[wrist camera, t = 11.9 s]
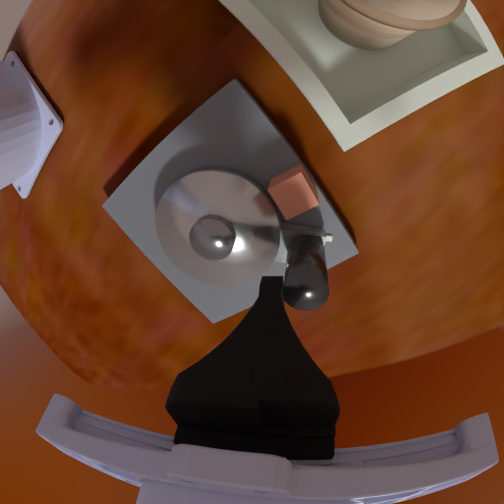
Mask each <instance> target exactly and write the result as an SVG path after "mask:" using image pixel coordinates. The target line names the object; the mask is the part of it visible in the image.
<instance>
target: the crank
mask: <svg viewBox="0 0 504 504" xmlns="http://www.w3.org/2000/svg"><path fill="white" fill-rule="evenodd" d="M155 226H156V233H157V237H158V240H159V243H160V245H161V247H162V249H163V251H164V253H165V254H166V256H167V257H168V258H169V260H170V261H171V262H172V263H173V264H174V265H175V266H176V267H177V268H178V269H179V270H181V271H182V272H183V273H185V274H186V275H188V276H189V277H191V278H193V279H195V280H197V281H200V282H202V283H205V284H209V285H213V286H220V287H231V286H238V285H243V284H246V283H249V282H251V281H253V280H255V279H257V278H258V277H260V276H261V275H262V274H264V273H265V272H266V271H267V270H268V269H269V267H270V266H271V265H272V263H273V262H274V261H277V262H283V263H286V268H285V277H284V286H283V297H284V300H285V301H286V303H287V304H288V305H290V306H291V307H293V308H295V309H298V310H303V311H308V310H314V309H317V308H319V307H320V306H322V305H323V304H324V303H325V302H326V301H327V299H328V296H329V287H328V276H327V266H326V256H325V247H324V245H325V242H326V238H327V237H326V230H325V229H320V228H314V227H309V226H303V225H298V224H292V223H286V222H281V220H280V215H279V212H278V209H277V207H276V205H275V203H274V201H273V199H272V198H271V196H270V195H269V194H268V192H267V191H266V190H265V189H264V188H263V187H262V186H261V185H260V184H259V183H257V182H256V181H255V180H254V179H252V178H250V177H249V176H247V175H245V174H243V173H241V172H239V171H236V170H233V169H228V168H223V167H206V168H201V169H197V170H194V171H192V172H189V173H187V174H186V175H184V176H182V177H181V178H180V179H178V180H177V181H176V182H175V183H174V184H172V185H171V186H170V187H169V188H168V189H167V190H166V191H165V193H164V194H163V196H162V197H161V200H160V202H159V204H158V207H157V211H156V217H155Z"/></svg>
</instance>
